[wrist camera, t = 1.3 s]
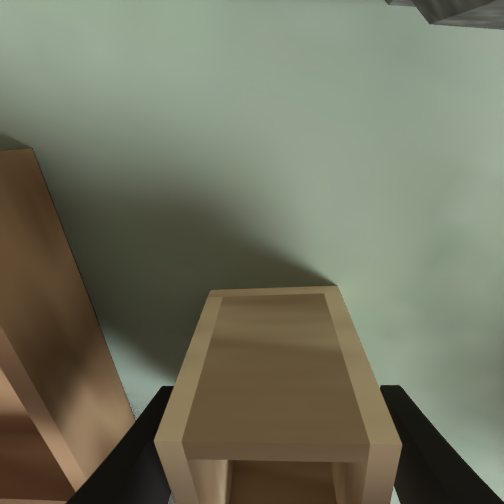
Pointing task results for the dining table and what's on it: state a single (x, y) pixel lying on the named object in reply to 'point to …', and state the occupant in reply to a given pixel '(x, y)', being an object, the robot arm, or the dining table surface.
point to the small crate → (277, 405)
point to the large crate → (48, 352)
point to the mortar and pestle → (459, 12)
